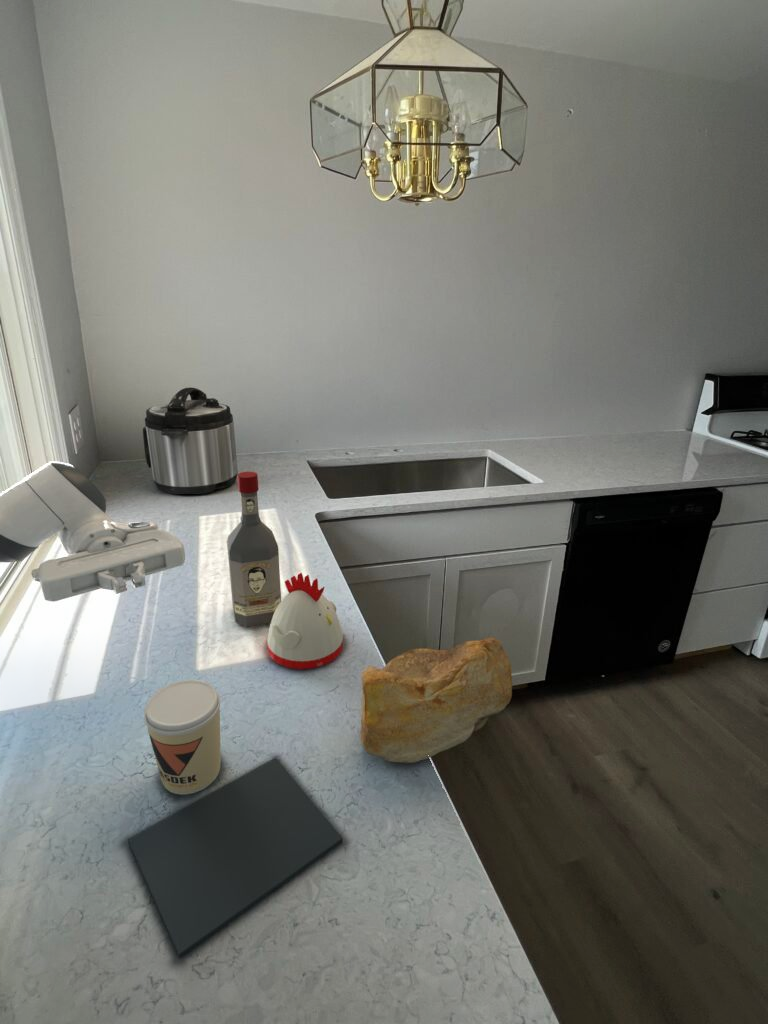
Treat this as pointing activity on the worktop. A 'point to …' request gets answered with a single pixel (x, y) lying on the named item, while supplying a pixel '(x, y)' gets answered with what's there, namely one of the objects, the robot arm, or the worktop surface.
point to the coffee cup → (185, 735)
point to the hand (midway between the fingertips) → (130, 585)
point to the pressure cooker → (190, 444)
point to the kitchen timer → (304, 627)
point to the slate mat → (230, 851)
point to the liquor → (253, 561)
